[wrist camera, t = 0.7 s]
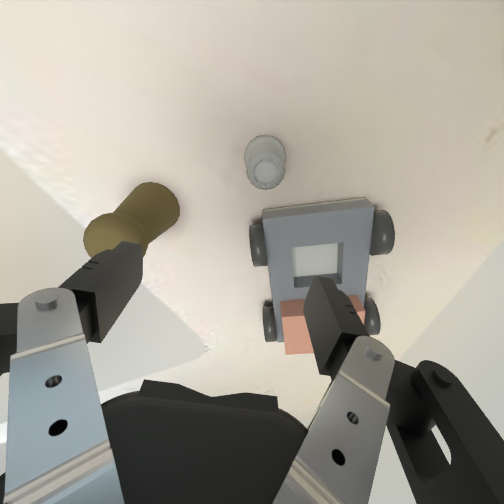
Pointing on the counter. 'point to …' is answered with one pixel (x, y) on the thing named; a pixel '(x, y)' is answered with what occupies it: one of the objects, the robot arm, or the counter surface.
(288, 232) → the toy truck
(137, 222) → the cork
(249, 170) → the rook chess piece
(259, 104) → the counter surface
